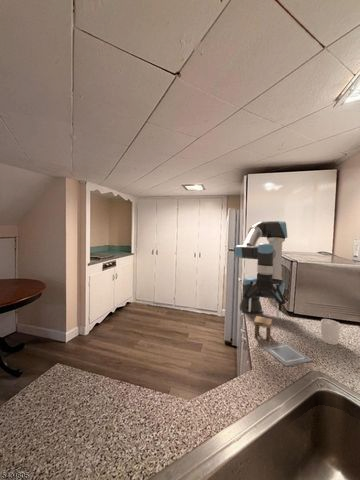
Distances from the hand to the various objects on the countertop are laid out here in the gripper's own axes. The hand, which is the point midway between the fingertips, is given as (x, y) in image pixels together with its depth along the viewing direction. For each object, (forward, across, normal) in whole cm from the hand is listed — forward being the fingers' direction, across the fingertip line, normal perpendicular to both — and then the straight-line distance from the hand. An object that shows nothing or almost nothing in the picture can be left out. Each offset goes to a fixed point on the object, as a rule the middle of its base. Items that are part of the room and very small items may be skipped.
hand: (263, 313), depth 106 cm
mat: (+12, +11, -11) cm, 20 cm away
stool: (+12, 0, +1) cm, 12 cm away
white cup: (+12, +30, +13) cm, 35 cm away
